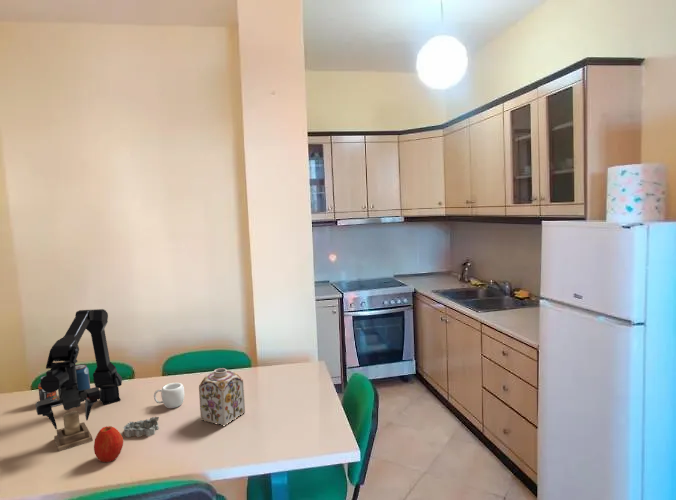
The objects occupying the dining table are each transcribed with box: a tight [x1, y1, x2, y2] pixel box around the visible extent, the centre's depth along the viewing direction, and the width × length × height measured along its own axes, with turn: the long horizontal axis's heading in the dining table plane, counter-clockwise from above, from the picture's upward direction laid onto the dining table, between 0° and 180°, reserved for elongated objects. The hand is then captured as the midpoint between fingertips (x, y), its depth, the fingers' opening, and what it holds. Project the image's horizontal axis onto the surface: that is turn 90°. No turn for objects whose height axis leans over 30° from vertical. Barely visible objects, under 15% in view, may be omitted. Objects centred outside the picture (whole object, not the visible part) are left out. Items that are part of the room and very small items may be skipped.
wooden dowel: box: [62, 410, 81, 436], centre depth 157 cm, size 4×4×8 cm
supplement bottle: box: [37, 375, 58, 402], centre depth 187 cm, size 6×6×11 cm
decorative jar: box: [198, 367, 246, 426], centre depth 170 cm, size 12×12×18 cm
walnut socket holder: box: [53, 422, 94, 452], centre depth 157 cm, size 10×10×3 cm
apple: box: [93, 425, 124, 463], centre depth 145 cm, size 8×8×11 cm
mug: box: [153, 382, 185, 409], centre depth 182 cm, size 12×8×8 cm
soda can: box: [75, 363, 91, 390], centre depth 195 cm, size 7×7×12 cm
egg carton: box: [122, 416, 159, 438], centre depth 161 cm, size 11×8×4 cm
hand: (71, 424), depth 157 cm, fingers open, 9 cm apart
